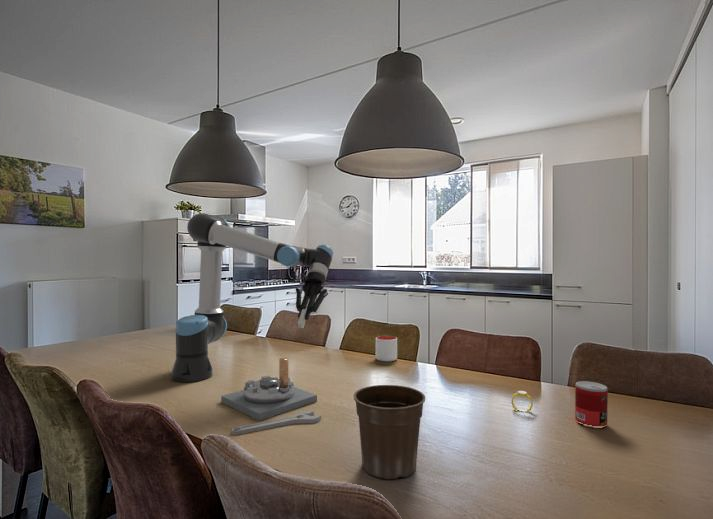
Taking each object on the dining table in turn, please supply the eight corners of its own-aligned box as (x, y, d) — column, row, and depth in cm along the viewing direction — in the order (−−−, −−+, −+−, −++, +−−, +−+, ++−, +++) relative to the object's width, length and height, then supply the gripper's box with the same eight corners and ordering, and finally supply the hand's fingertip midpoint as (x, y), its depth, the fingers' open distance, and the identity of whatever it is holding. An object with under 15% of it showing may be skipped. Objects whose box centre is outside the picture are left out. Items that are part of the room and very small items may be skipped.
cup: (400, 358, 190) (401, 337, 190) (390, 363, 181) (391, 340, 181) (382, 355, 195) (382, 334, 195) (371, 360, 187) (371, 338, 187)
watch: (531, 411, 126) (533, 392, 126) (531, 415, 123) (533, 395, 123) (511, 407, 128) (512, 388, 128) (510, 410, 126) (512, 391, 126)
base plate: (221, 401, 133) (221, 395, 133) (277, 386, 149) (277, 380, 149) (259, 420, 118) (259, 413, 118) (317, 401, 134) (317, 395, 134)
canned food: (607, 431, 111) (607, 391, 111) (574, 425, 115) (574, 386, 115) (607, 422, 117) (607, 383, 117) (576, 416, 122) (576, 379, 122)
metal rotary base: (233, 396, 132) (233, 356, 132) (272, 384, 145) (272, 347, 144) (267, 408, 122) (267, 365, 122) (305, 394, 134) (306, 355, 134)
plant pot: (364, 445, 103) (364, 381, 103) (429, 454, 98) (429, 387, 98) (343, 478, 87) (344, 403, 87) (419, 491, 83) (419, 412, 82)
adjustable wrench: (232, 437, 108) (232, 431, 108) (230, 428, 114) (230, 422, 114) (322, 422, 118) (322, 416, 117) (316, 414, 123) (316, 408, 123)
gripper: (334, 283, 163) (320, 333, 147) (303, 282, 166) (286, 331, 150) (330, 270, 157) (315, 320, 141) (298, 270, 161) (280, 318, 144)
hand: (300, 326), depth 146 cm, fingers closed
